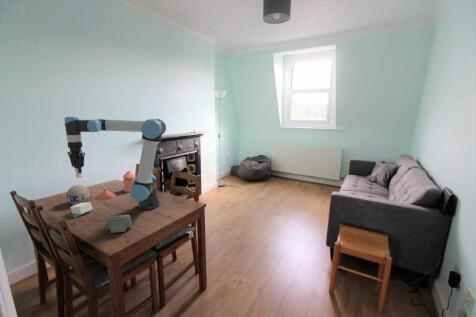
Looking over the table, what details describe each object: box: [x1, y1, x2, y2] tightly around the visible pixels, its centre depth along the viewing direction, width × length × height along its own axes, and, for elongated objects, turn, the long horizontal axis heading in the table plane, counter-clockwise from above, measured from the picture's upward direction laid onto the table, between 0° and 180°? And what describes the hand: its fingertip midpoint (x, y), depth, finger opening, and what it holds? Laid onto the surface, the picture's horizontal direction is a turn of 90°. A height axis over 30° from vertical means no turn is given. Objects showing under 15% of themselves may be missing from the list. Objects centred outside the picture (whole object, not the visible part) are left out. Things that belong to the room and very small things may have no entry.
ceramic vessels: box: [94, 170, 136, 202], centre depth 191 cm, size 35×21×19 cm, turn 137°
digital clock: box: [104, 214, 133, 234], centre depth 137 cm, size 14×8×9 cm, turn 90°
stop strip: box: [72, 207, 94, 218], centre depth 159 cm, size 2×13×2 cm, turn 161°
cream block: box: [69, 201, 93, 215], centre depth 159 cm, size 5×8×10 cm
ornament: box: [65, 184, 91, 206], centre depth 174 cm, size 15×15×15 cm
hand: (79, 177), depth 151 cm, fingers closed
